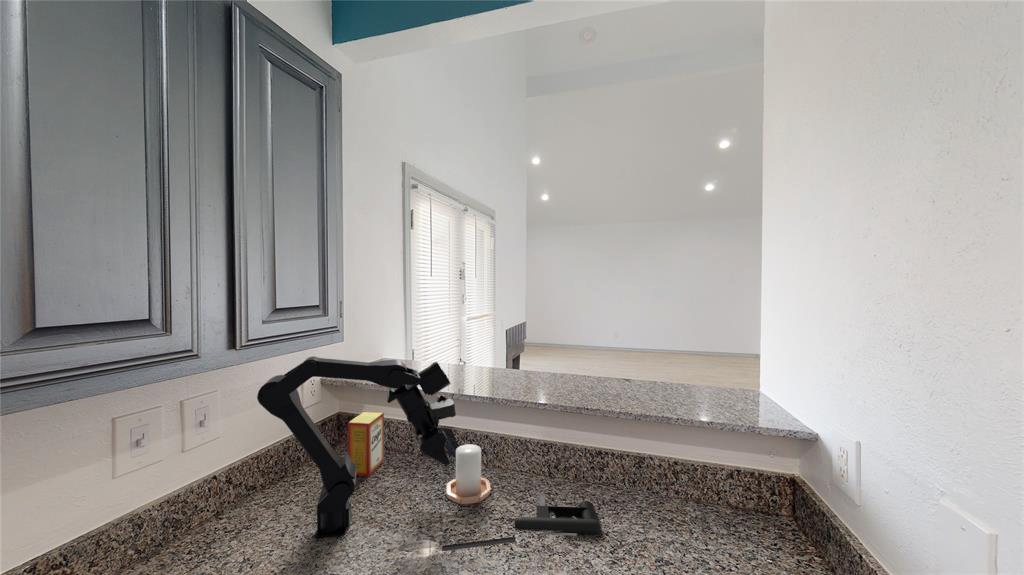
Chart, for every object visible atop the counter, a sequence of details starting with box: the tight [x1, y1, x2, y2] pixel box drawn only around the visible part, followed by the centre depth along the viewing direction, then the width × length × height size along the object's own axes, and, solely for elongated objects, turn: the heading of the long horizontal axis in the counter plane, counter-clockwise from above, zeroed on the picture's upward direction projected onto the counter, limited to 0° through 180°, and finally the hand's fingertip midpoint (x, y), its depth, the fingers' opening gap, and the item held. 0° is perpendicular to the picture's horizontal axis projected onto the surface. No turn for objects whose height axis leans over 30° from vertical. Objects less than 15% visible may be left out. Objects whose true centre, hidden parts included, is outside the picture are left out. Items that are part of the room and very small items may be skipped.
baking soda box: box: [347, 411, 385, 477], centre depth 115 cm, size 10×6×16 cm
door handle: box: [514, 492, 602, 537], centre depth 92 cm, size 3×20×16 cm
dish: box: [445, 476, 492, 505], centre depth 101 cm, size 12×12×2 cm
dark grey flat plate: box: [441, 536, 516, 552], centre depth 87 cm, size 16×12×1 cm
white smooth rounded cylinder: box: [455, 443, 482, 497], centre depth 100 cm, size 7×7×11 cm
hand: (444, 455), depth 95 cm, fingers open, 9 cm apart
